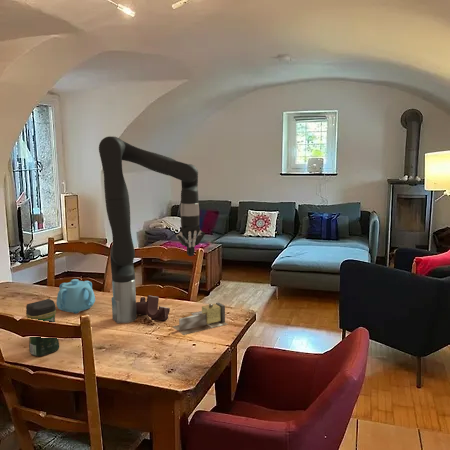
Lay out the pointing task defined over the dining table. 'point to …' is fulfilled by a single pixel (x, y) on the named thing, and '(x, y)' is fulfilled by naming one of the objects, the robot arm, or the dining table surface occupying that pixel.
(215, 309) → the block with knob
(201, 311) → the gray metal plate
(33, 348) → the coffee jar
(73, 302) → the decorative pot
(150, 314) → the bracket
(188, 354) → the dining table surface
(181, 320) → the rail
